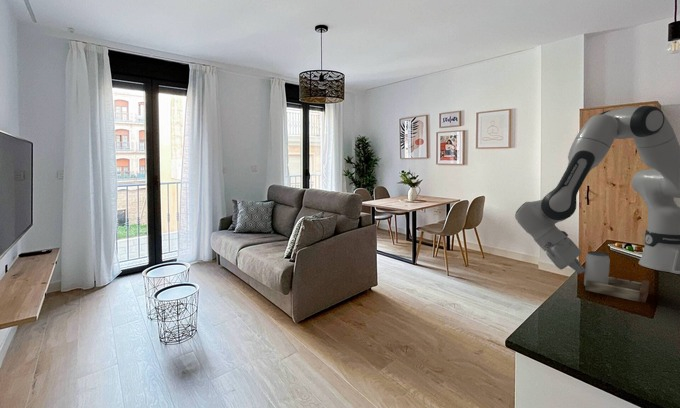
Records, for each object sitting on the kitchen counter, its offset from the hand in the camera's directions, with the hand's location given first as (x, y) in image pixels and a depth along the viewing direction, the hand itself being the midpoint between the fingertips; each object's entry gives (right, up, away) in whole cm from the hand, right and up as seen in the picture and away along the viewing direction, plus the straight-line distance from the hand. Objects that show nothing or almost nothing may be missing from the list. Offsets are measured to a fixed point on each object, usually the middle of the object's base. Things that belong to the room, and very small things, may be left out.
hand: (582, 272), depth 116 cm
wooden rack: (+7, -5, -6) cm, 10 cm away
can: (+3, -5, -2) cm, 6 cm away
